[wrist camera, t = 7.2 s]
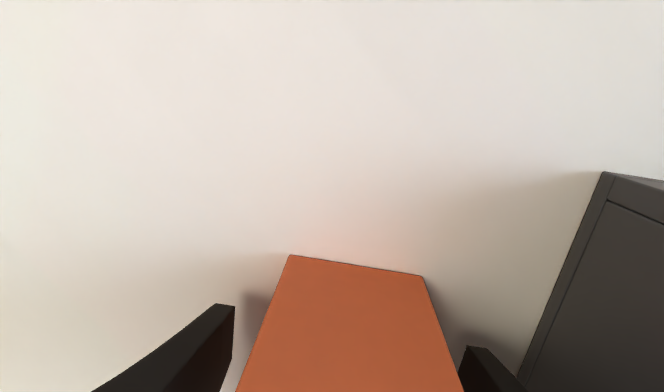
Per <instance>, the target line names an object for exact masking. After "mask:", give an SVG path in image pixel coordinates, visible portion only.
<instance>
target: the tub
mask: <svg viewBox="0 0 664 392" xmlns="http://www.w3.org/2000/svg"><path fill="white" fill-rule="evenodd" d="M517 380H518V381H519V382H520V383H521V384H522V385H523V386H524V387H525V388H526V389H527V390H528V391H529V392H664V181H662V180H656V179H649V178H643V177H637V176H630V175H624V174H618V173H611V172H603V173H602V175H601V178H600V180H599V183H598V185H597V187H596V190H595V192H594V195H593V197H592V199H591V202H590V204H589V207H588V209H587V211H586V214H585V216H584V218H583V221H582V223H581V226H580V228H579V230H578V233H577V235H576V238H575V240H574V242H573V245H572V247H571V250H570V252H569V254H568V257H567V259H566V262H565V264H564V266H563V269H562V271H561V273H560V276H559V278H558V281H557V283H556V285H555V288H554V290H553V293H552V295H551V297H550V300H549V302H548V305H547V307H546V309H545V312H544V314H543V317H542V319H541V321H540V324H539V326H538V329H537V331H536V333H535V336H534V338H533V340H532V343H531V345H530V348H529V350H528V352H527V355H526V357H525V360H524V362H523V364H522V367H521V369H520V372H519V374H518V376H517Z"/></svg>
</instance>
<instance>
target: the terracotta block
mask: <svg viewBox="0 0 664 392" xmlns="http://www.w3.org/2000/svg"><path fill="white" fill-rule="evenodd" d="M235 392H464V390H463V387H462V385H461V382H460V379H459V377H458V374H457V371H456V368H455V366H454V363H453V360H452V357H451V355H450V352H449V349H448V346H447V344H446V341H445V338H444V335H443V333H442V330H441V327H440V324H439V322H438V319H437V316H436V313H435V311H434V308H433V305H432V303H431V300H430V297H429V294H428V292H427V289H426V286H425V283H424V281H423V278H422V277H421V276H416V275H410V274H404V273H398V272H392V271H386V270H380V269H374V268H368V267H362V266H356V265H350V264H343V263H337V262H331V261H325V260H319V259H313V258H307V257H301V256H295V255H289V257H288V259H287V262H286V264H285V267H284V269H283V272H282V275H281V277H280V280H279V282H278V285H277V287H276V290H275V292H274V295H273V297H272V300H271V302H270V305H269V307H268V310H267V312H266V315H265V317H264V320H263V323H262V325H261V328H260V330H259V333H258V335H257V338H256V340H255V343H254V345H253V348H252V350H251V353H250V355H249V358H248V360H247V363H246V366H245V368H244V371H243V373H242V376H241V378H240V381H239V383H238V386H237V388H236V391H235Z"/></svg>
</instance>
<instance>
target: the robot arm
mask: <svg viewBox="0 0 664 392" xmlns="http://www.w3.org/2000/svg"><path fill="white" fill-rule="evenodd" d="M234 317H235V306H230V305H224V304H218V303H216V304H214V305H213V306H211V307H210V308H209V309H207V310H206V311H205V312H204V313H202V314H201V315H200V316H199V317H197V318H196V319H195V320H194V321H192V322H191V323H190V324H189V325H187V326H186V327H185V328H183V329H182V330H181V331H180V332H178V333H177V334H176V335H174V336H173V337H172V338H170V339H169V340H168V341H166V342H165V343H164V344H162V345H161V346H160V347H158V348H157V349H155V350H154V351H153V352H151V353H150V354H148V355H147V356H145V357H144V358H143V359H141V360H140V361H138V362H137V363H135V364H134V365H132V366H131V367H129V368H128V369H127V370H125V371H124V372H122V373H120V374H119V375H117V376H116V377H114V378H113V379H111V380H110V381H108V382H106V383H105V384H103V385H101V386H100V387H98V388H97V389H95V390H93V391H91V392H220V389H221V386H222V384H223V381H224V379H225V376H226V373H227V370H228V368H229V365H230V362H231V359H232V347H233V332H234ZM457 374H458V377H459V379H460V382H461V385H462V387H463V390H464V392H529V391H528V390H527V389H526V388H525V387H524V386H523V385H522V384H521V383H520V382H519V381H518V380H517V379H516V378H515V377H514V376H513V375H512V374H511V373H510V371H509V370H508V369H507V368H506V367H505V366H504V365H503V364H502V363H501V362H500V361H499V360H498V359H497V358H496V357H495V356H494V355H493V354H492V353H491V352H490V351H489V350H488V349H486V348H480V347H474V346H468V345H467V347H466V350H465V352H464V355H463V358H462V361H461V364H460V367H459V370H458V373H457Z"/></svg>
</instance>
